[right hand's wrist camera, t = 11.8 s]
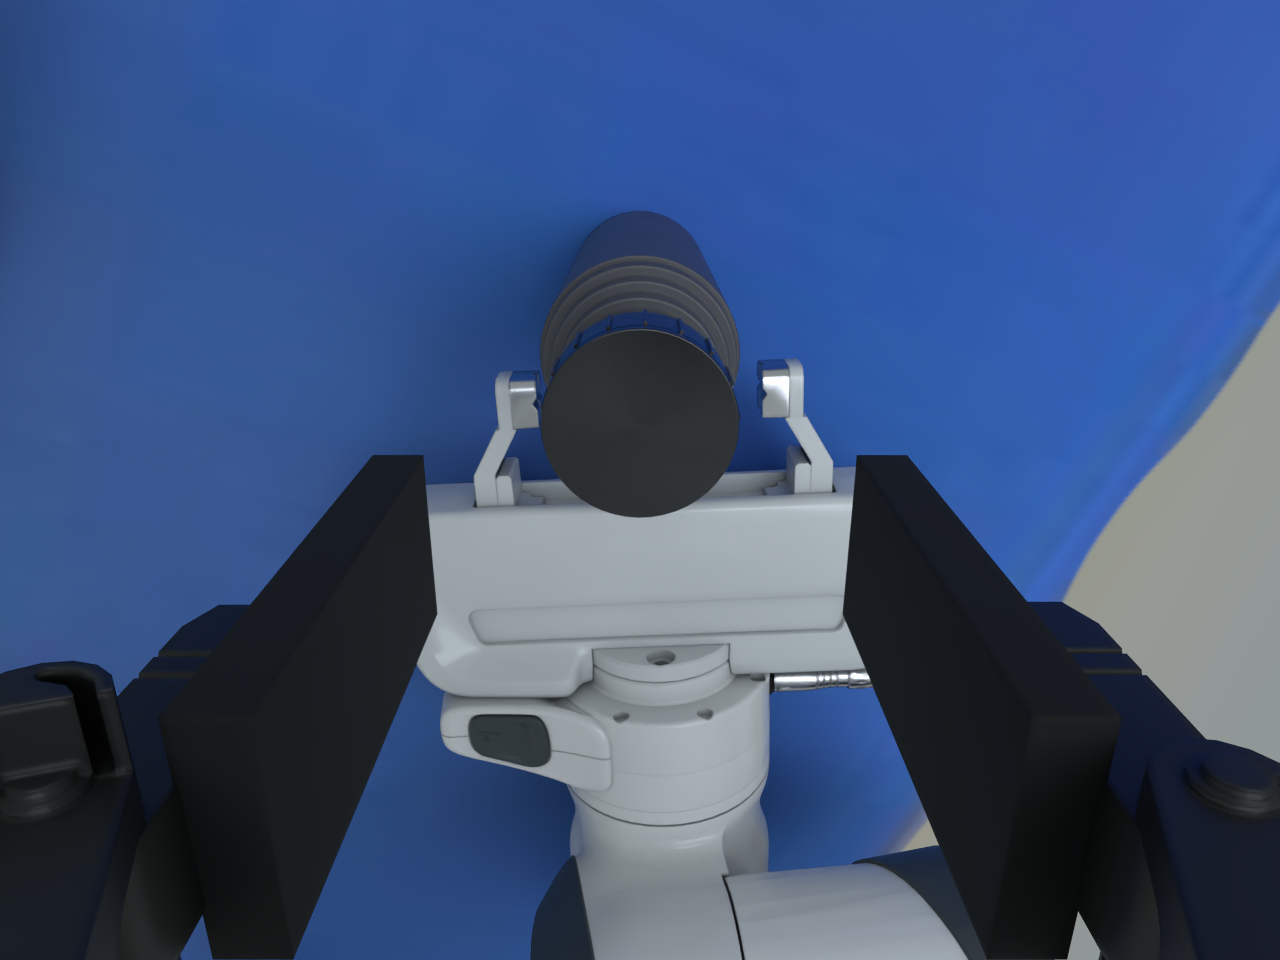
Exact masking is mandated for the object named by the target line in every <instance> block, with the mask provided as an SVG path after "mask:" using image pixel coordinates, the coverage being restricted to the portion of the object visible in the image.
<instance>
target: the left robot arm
mask: <svg viewBox="0 0 1280 960" xmlns="http://www.w3.org/2000/svg"><path fill="white" fill-rule="evenodd" d="M757 377H758V379H759V381H760V383H759V385H758V386H757V405H758V408H759V409H760V413H761V415H762V417H763V418H775V417H785V419H786V421H787V422H788V424H789V426H790V427H791V429H792V431H793V432H794V434H795V436H796V437H797V439H798V441H799V442H800V444H801V446H802V447H801V446H800V445H789V446H788V447H787V451H786V470H763V471H740V472H725V473H724V474H723V476H722V477H721V478H720V479H719V481H718V482H717V483H716V484H715V485H714V486H713V487H712V488H711V489H710V490H709V491H708V492H707V493H706V494H705V495H704V496H702V497H701V498H700V499H698V500H697V501H695V502H694V503H692V504H690V505H689V506H687V507H685V508H682V509H680V510H678V511H675V512H672V513H669V514H665V515H661V516H655V517H644V518H635V517H624V516H619V515H614V514H611V513H608V512H605V511H602V510H600V509H598V508H596V507H593V506H591V505H590V504H588V503H586V502H585V501H583V500H582V499H580V498H579V497H578V496H576V495H575V494H574V493H573V492H571V491H570V490H569V489H568V488H567V486H566V485H565V484H564V483H563V482H562V481H561V480H560V479H550V480H526V481H521V476H520V468H519V459H518V458H516V457H506V458H505V459H503V458H504V456H505V454H506V451H507V449H508V447H509V445H510V443H511V441H512V439H513V437H514V435H515V433H516V431H517V429H524V428H539V426H540V424H541V411H542V409H540V405H541V402H542V400H543V396H542V395H541V394H540V393H539V390H540V388H541V385H542V384H541V375H540V371H505V372H500V373H499V374H498V376H497V378H496V382H495V396H496V405H497V415H498V427H497V429H496V431H495V433H494V435H493V437H492V439H491V441H490V443H489V445H488V447H487V450H486V452H485V454H484V456H483V458H482V460H481V462H480V464H479V466H478V468H477V470H476V473H475V475H474V483H455V484H429V485H426V493H427V504H428V515H429V526H430V537H431V548H432V559H433V570H434V581H435V592H436V602H437V613H438V614H437V616H436V619H435V621H434V624H433V626H432V628H431V631H430V633H429V636H428V638H427V640H426V643H425V645H424V647H423V650H422V652H421V655H420V657H419V659H418V662H417V666H418V668H419V669H420V671H421V672H422V673H423V674H424V676H425V677H426V678H427V679H428V680H429V681H430V682H431V683H432V684H434V685H435V686H437V687H438V688H440V689H442V690H444V691H445V693H444V698H443V703H442V711H441V719H440V729H441V736H442V739H443V742H444V744H445V746H446V747H447V748H448V749H449V750H451V751H452V752H454V753H457V754H459V755H462V756H466V757H470V758H474V759H479V760H483V761H488V762H492V763H497V764H501V765H505V766H509V767H513V768H517V769H521V770H525V771H529V772H532V773H536V774H539V775H542V776H546V777H549V778H552V779H555V780H558V781H560V782H563V783H566V784H567V787H568V789H569V792H570V794H571V796H572V798H573V801H574V804H575V815H574V818H573V822H572V827H571V833H570V855H571V857H570V858H569V859H568V860H567V862H566V863H565V864H564V865H563V867H562V868H561V869H560V871H559V872H558V874H557V875H556V877H555V879H554V880H553V882H552V884H551V886H550V888H549V889H548V891H547V893H546V894H545V896H544V898H543V900H542V902H541V903H540V905H539V907H538V909H537V912H536V916H535V920H534V925H533V932H532V941H531V960H1054V959H987V958H986V956H985V954H984V951H983V949H982V947H981V944H980V942H979V939H978V937H977V935H976V932H975V930H974V927H973V925H972V923H971V920H970V918H969V915H968V913H967V911H966V908H965V906H964V903H963V901H962V899H961V896H960V894H959V891H958V889H957V887H956V884H955V882H954V880H953V877H952V875H951V872H950V870H949V868H948V865H947V863H946V860H945V858H944V856H943V853H942V851H941V848H940V846H930V847H925V848H919V849H914V850H909V851H904V852H899V853H893V854H888V855H883V856H877V857H872V858H866V859H861V860H858V861H855V862H853V863H852V864H850V865H839V866H828V867H818V868H807V869H796V870H785V871H774V872H768V861H769V838H768V828H767V823H766V819H765V816H764V814H763V811H762V808H761V806H760V797H761V794H762V792H763V789H764V787H765V784H766V780H767V776H768V770H769V745H770V698H769V694H772V692H789V691H809V690H816V689H817V690H818V689H822V688H829V687H830V688H831V687H847V688H848V689H864V688H870V687H873V686H872V683H871V681H870V679H869V676H868V674H867V671H866V669H865V667H864V664H863V662H862V659H861V657H860V655H859V652H858V650H857V647H856V645H855V643H854V640H853V638H852V636H851V633H850V631H849V628H848V626H847V624H846V621H845V619H844V616H843V614H842V613H843V602H844V592H845V581H846V570H847V559H848V548H849V537H850V526H851V515H852V504H853V493H854V482H855V471H856V467H833V461H832V459H831V457H830V455H829V454H828V452H827V450H826V448H825V446H824V445H823V443H822V441H821V440H820V438H819V436H818V434H817V433H816V431H815V429H814V428H813V426H812V424H811V423H810V421H809V419H808V418H807V416H806V414H805V413H804V411H803V397H804V374H803V367H802V364H801V363H800V361H799V360H798V359H797V358H796V359H775V360H758V362H757Z"/></svg>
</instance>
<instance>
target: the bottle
mask: <svg viewBox="0 0 1280 960" xmlns="http://www.w3.org/2000/svg"><path fill="white" fill-rule="evenodd" d="M643 310H647V312H650V313H657V314H662V315H666V316H669V317H672V318H675V319H678V318H681V319H682V322H683V323H685V324H687V325H689V326H690V327H692V328H693V329H695V330H696V331H698V332H699V333H700V334H701V335H702V336H703V337H704V338H705V339H706V338H707V337H708V338H709V339H710V341H711V344H712V346H713V348H714V349H715V350H716V352H717V353H718V355H719V357H720V358H721V360H722V362H723V364H724V367H725V366H728V369H729V372H730V374H731V377H732V380H733V382H734V384H733V385H732V388H733V387H734V385H735V381H736V378H737V374H738V369H739V360H740V345H739V338H738V332H737V328H736V325H735V321H734V319H733V316H732V314H731V312H730V309H729V307H728V305H727V303H726V301H725V299H724V297H723V295H722V293H721V291H720V289H719V287H718V285H717V283H716V281H715V279H714V277H713V275H712V273H711V271H710V269H709V267H708V265H707V263H706V261H705V259H704V257H703V255H702V253H701V251H700V249H699V247H698V245H697V244H696V242H695V240H694V239H693V238H692V236H691V235H690V234H689V233H688V232H687V231H686V230H685V229H684V228H683V227H682V226H681V225H679V224H678V223H677V222H675V221H673V220H672V219H670V218H668V217H666V216H663V215H660V214H657V213H652V212H645V211H635V212H628V213H623V214H620V215H617V216H614V217H612V218H610V219H608V220H606V221H605V222H603V223H602V224H601V225H599V226H598V227H597V228H596V229H595V230H594V231H593V232H592V233H591V234H590V235H589V236H588V237H587V239H586V241H585V242H584V244H583V245H582V247H581V249H580V251H579V253H578V255H577V257H576V259H575V261H574V263H573V265H572V267H571V269H570V271H569V273H568V275H567V277H566V279H565V281H564V283H563V285H562V287H561V289H560V291H559V293H558V295H557V297H556V299H555V301H554V303H553V305H552V308H551V310H550V312H549V314H548V316H547V318H546V322H545V325H544V328H543V332H542V338H541V346H540V360H541V369H542V374H543V378H544V382H545V384H546V387H547V388H548V385H549V382H550V380H551V377H552V375H550V374H551V371H552V368H553V366H554V363H555V360H556V358H557V357H559V358H560V356H561V355H562V353H563V352H564V350H565V349H566V347H567V346H568V345H569V344H570V343H571V342H572V341H573V339H574V338H575V337H576V335H577V332H579V331H581V332H582V331H584V330H585V329H587V328H588V327H590V326H591V325H593V324H594V323H597V322H599V321H601V320H603V319H605V318H608V315H609V314H612V316H614V315H618V314H623V313H629V312H643Z"/></svg>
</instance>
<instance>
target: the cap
mask: <svg viewBox="0 0 1280 960" xmlns="http://www.w3.org/2000/svg"><path fill="white" fill-rule="evenodd" d="M550 375H552V377H551V380H550V382H549V385H548V388H547V389H546V391H545V394H544V397H543V400H542V402H541V405H540V409H542V411H541V435H542V441H543V445H544V449H545V452H546V455H547V457H548V460H549V462H550V464H551V466H552V467H553V469H554V471H555V473H556V474H557V475H558V477H559V478H560V480H561V481H562V482H563V483H564V484H565V485H566V486H567V488H568V489H569V490H570V491H571V492H573V493H574V494H575V495H576V496H578V497H579V498H580V499H582V500H583V501H585V502H586V503H588V504H590V505H591V506H593V507H596V508H598V509H600V510H602V511H605V512H608V513H611V514H614V515H619V516H624V517H635V518H644V517H655V516H661V515H665V514H669V513H672V512H675V511H678V510H680V509H682V508H685V507H687V506H689V505H690V504H692V503H694V502H695V501H697V500H698V499H700V498H701V497H702V496H704V495H705V494H706V493H707V492H708V491H709V490H710V489H711V488H712V487H713V486H714V485H715V484H716V483H717V482H718V481H719V479H720V478H721V477H722V476H723V474H724V473H725V471H726V469H727V467H728V466H729V464H730V462H731V459H732V457H733V455H734V452H735V448H736V445H737V441H738V434H739V419H740V414H739V411H738V405H737V401H736V397H735V394H734V391H733V388H732V385H733V384H734V382H733V380H732V377H731V374H730V372H729V369H728V366H725V367H724V364H723V362H722V360H721V358H720V357H719V355H718V353H717V352H716V350H715V349H714V348H713V346H712V344H711V341H710V339H709V338H708V337H707V338H706V339H705V338H704V337H703V336H702V335H701V334H700V333H699V332H698V331H696V330H695V329H693V328H692V327H690V326H689V325H687V324H685V323H683V322H682V319H681V318H678V319H675V318H672V317H669V316H666V315H662V314H657V313H650V312H647V310H643V312H629V313H623V314H618V315H614V316H612V314H609V315H608V318H605V319H603V320H601V321H599V322H597V323H594V324H593V325H591V326H590V327H588V328H587V329H585V330H584V331H582V332H581V331H579V332H577V335H576V337H575V338H574V339H573V341H572V342H571V343H570V344H569V345H568V346H567V347H566V349H565V350H564V352H563V353H562V355H561V356H560V358H559V357H557V358H556V360H555V363H554V366H553V368H552V371H551V374H550Z"/></svg>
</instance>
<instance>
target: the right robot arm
mask: <svg viewBox="0 0 1280 960" xmlns="http://www.w3.org/2000/svg"><path fill="white" fill-rule="evenodd" d="M437 614H438V613H437V602H436V592H435V581H434V570H433V559H432V548H431V537H430V526H429V515H428V504H427V493H426V482H425V471H424V460H423V455H373V456H372V457H371V458H370V460H369V461H368V462H367V463H366V464H365V466H364V467H363V468H362V469H361V471H360V472H359V473H358V474H357V475H356V477H355V478H354V479H353V480H352V481H351V483H350V484H349V485H348V486H347V488H346V489H345V490H344V491H343V492H342V494H341V495H340V496H339V497H338V499H337V500H336V501H335V502H334V503H333V505H332V506H331V507H330V508H329V510H328V511H327V512H326V513H325V514H324V516H323V517H322V518H321V519H320V521H319V522H318V523H317V524H316V525H315V527H314V528H313V529H312V530H311V531H310V533H309V534H308V535H307V536H306V538H305V539H304V540H303V541H302V542H301V544H300V545H299V546H298V547H297V549H296V550H295V551H294V552H293V553H292V555H291V556H290V557H289V558H288V560H287V561H286V562H285V563H284V564H283V566H282V567H281V568H280V569H279V571H278V572H277V573H276V574H275V575H274V577H273V578H272V579H271V580H270V582H269V583H268V584H267V585H266V586H265V588H264V589H263V590H262V591H261V592H260V594H259V595H258V596H257V597H256V599H255V600H254V601H253V602H252V603H251V605H218V606H216V607H215V608H213V609H211V610H210V611H208V612H206V613H204V614H203V615H201V616H199V617H198V618H196V619H194V620H192V621H191V622H189V623H187V624H186V625H184V626H182V627H181V628H180V629H179V630H178V632H177V633H176V634H175V635H174V636H173V637H172V638H171V639H170V640H169V641H168V642H167V644H166V645H165V646H164V647H163V648H162V649H161V650H160V651H159V656H158V657H154V658H153V659H152V660H151V661H150V662H149V663H148V664H147V665H146V666H145V667H144V668H143V670H142V671H141V672H140V673H139V679H133V680H132V681H131V683H130V684H129V685H128V686H127V687H126V688H125V689H124V690H123V691H122V692H121V693H120V695H119V696H118V697H117V695H116V691H115V687H114V682H113V678H112V675H111V674H110V673H108V672H107V671H106V670H104V669H103V668H101V667H100V666H99V665H95V664H89V663H83V662H77V661H64V662H50V663H40V664H36V665H32V666H27V667H23V668H19V669H15V670H11V671H7V672H4V673H1V674H0V960H181V956H180V954H181V952H182V950H183V949H184V947H185V945H186V943H187V941H188V940H189V938H190V936H191V934H192V932H193V931H194V929H195V927H196V925H197V923H198V922H199V920H200V918H201V916H202V914H203V918H204V922H205V927H206V931H207V935H208V940H209V944H210V948H211V953H212V957H213V959H293V958H294V956H295V954H296V951H297V949H298V946H299V944H300V942H301V939H302V937H303V935H304V932H305V930H306V927H307V925H308V923H309V920H310V918H311V915H312V913H313V911H314V908H315V906H316V903H317V901H318V899H319V896H320V894H321V891H322V889H323V887H324V884H325V882H326V880H327V877H328V875H329V872H330V870H331V868H332V865H333V863H334V860H335V858H336V856H337V853H338V851H339V848H340V846H341V844H342V841H343V839H344V836H345V834H346V832H347V829H348V827H349V825H350V822H351V820H352V817H353V815H354V813H355V810H356V808H357V805H358V803H359V801H360V798H361V796H362V793H363V791H364V789H365V786H366V784H367V781H368V779H369V777H370V774H371V772H372V769H373V767H374V765H375V762H376V760H377V758H378V755H379V753H380V750H381V748H382V746H383V743H384V741H385V738H386V736H387V734H388V731H389V729H390V726H391V724H392V722H393V719H394V717H395V714H396V712H397V710H398V707H399V705H400V703H401V700H402V698H403V695H404V693H405V691H406V688H407V686H408V683H409V681H410V679H411V676H412V674H413V671H414V669H415V667H416V664H417V662H418V659H419V657H420V655H421V652H422V650H423V647H424V645H425V643H426V640H427V638H428V636H429V633H430V631H431V628H432V626H433V624H434V621H435V619H436V616H437ZM842 614H843V616H844V619H845V621H846V624H847V626H848V628H849V631H850V633H851V636H852V638H853V640H854V643H855V645H856V647H857V650H858V652H859V655H860V657H861V659H862V662H863V664H864V667H865V669H866V671H867V674H868V676H869V679H870V681H871V683H872V686H873V688H874V691H875V693H876V695H877V698H878V700H879V703H880V705H881V707H882V710H883V712H884V714H885V717H886V719H887V722H888V724H889V726H890V729H891V731H892V734H893V736H894V738H895V741H896V743H897V746H898V748H899V750H900V753H901V755H902V758H903V760H904V762H905V765H906V767H907V769H908V772H909V774H910V777H911V779H912V781H913V784H914V786H915V789H916V791H917V793H918V796H919V798H920V801H921V803H922V805H923V808H924V810H925V813H926V815H927V817H928V820H929V822H930V824H931V827H932V829H933V832H934V834H935V836H936V839H937V841H938V844H939V846H940V848H941V851H942V853H943V856H944V858H945V860H946V863H947V865H948V868H949V870H950V872H951V875H952V877H953V880H954V882H955V884H956V887H957V889H958V891H959V894H960V896H961V899H962V901H963V903H964V906H965V908H966V911H967V913H968V915H969V918H970V920H971V923H972V925H973V927H974V930H975V932H976V935H977V937H978V939H979V942H980V944H981V947H982V949H983V951H984V954H985V956H986V958H987V959H1067V957H1068V953H1069V948H1070V944H1071V940H1072V935H1073V931H1074V927H1075V922H1076V918H1077V913H1078V911H1079V913H1080V915H1081V917H1082V919H1083V920H1084V922H1085V924H1086V926H1087V928H1088V929H1089V931H1090V933H1091V935H1092V936H1093V938H1094V940H1095V942H1096V944H1097V945H1098V947H1099V949H1100V951H1101V952H1100V956H1099V960H1280V763H1278V762H1276V761H1274V760H1272V759H1270V758H1268V757H1265V756H1263V755H1261V754H1259V753H1257V752H1255V751H1252V750H1250V749H1247V748H1243V747H1239V746H1236V745H1232V744H1228V743H1225V742H1221V741H1217V740H1207V739H1205V738H1204V736H1203V735H1202V734H1201V733H1200V732H1199V731H1198V730H1197V729H1196V728H1195V727H1194V726H1193V725H1192V724H1191V722H1190V721H1189V720H1188V719H1187V718H1186V717H1185V716H1184V715H1183V714H1182V713H1181V712H1180V711H1179V710H1178V708H1177V707H1176V706H1175V705H1174V704H1173V703H1172V702H1171V701H1170V700H1169V699H1168V698H1167V697H1166V696H1165V694H1164V693H1163V692H1162V691H1161V690H1160V689H1159V688H1158V687H1157V686H1156V685H1155V684H1154V683H1153V682H1152V680H1151V679H1150V678H1149V677H1148V676H1147V675H1142V672H1141V671H1142V670H1141V669H1140V668H1139V667H1138V665H1137V664H1136V663H1135V662H1134V661H1133V660H1132V659H1131V658H1130V657H1129V656H1128V655H1127V654H1122V648H1121V647H1120V646H1119V645H1118V644H1117V643H1116V642H1115V641H1114V640H1113V638H1112V637H1111V636H1110V635H1109V634H1108V633H1107V632H1106V631H1105V630H1104V629H1103V628H1102V627H1101V626H1100V624H1099V623H1097V622H1095V621H1093V620H1092V619H1090V618H1088V617H1086V616H1085V615H1083V614H1081V613H1080V612H1078V611H1076V610H1075V609H1073V608H1071V607H1069V606H1068V605H1066V604H1064V603H1063V602H1027V601H1026V600H1025V599H1024V597H1023V596H1022V595H1021V594H1020V592H1019V591H1018V590H1017V589H1016V588H1015V586H1014V585H1013V584H1012V583H1011V582H1010V580H1009V579H1008V578H1007V577H1006V575H1005V574H1004V573H1003V572H1002V571H1001V569H1000V568H999V567H998V566H997V564H996V563H995V562H994V561H993V560H992V558H991V557H990V556H989V555H988V553H987V552H986V551H985V550H984V549H983V547H982V546H981V545H980V544H979V542H978V541H977V540H976V539H975V538H974V536H973V535H972V534H971V533H970V531H969V530H968V529H967V528H966V527H965V525H964V524H963V523H962V522H961V521H960V519H959V518H958V517H957V516H956V514H955V513H954V512H953V511H952V510H951V508H950V507H949V506H948V505H947V503H946V502H945V501H944V500H943V499H942V497H941V496H940V495H939V494H938V492H937V491H936V490H935V489H934V488H933V486H932V485H931V484H930V483H929V481H928V480H927V479H926V478H925V477H924V475H923V474H922V473H921V472H920V471H919V469H918V468H917V467H916V466H915V464H914V463H913V462H912V461H911V460H910V458H909V457H908V456H907V455H857V460H856V471H855V482H854V493H853V504H852V515H851V526H850V537H849V548H848V559H847V570H846V581H845V592H844V602H843V613H842Z"/></svg>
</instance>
